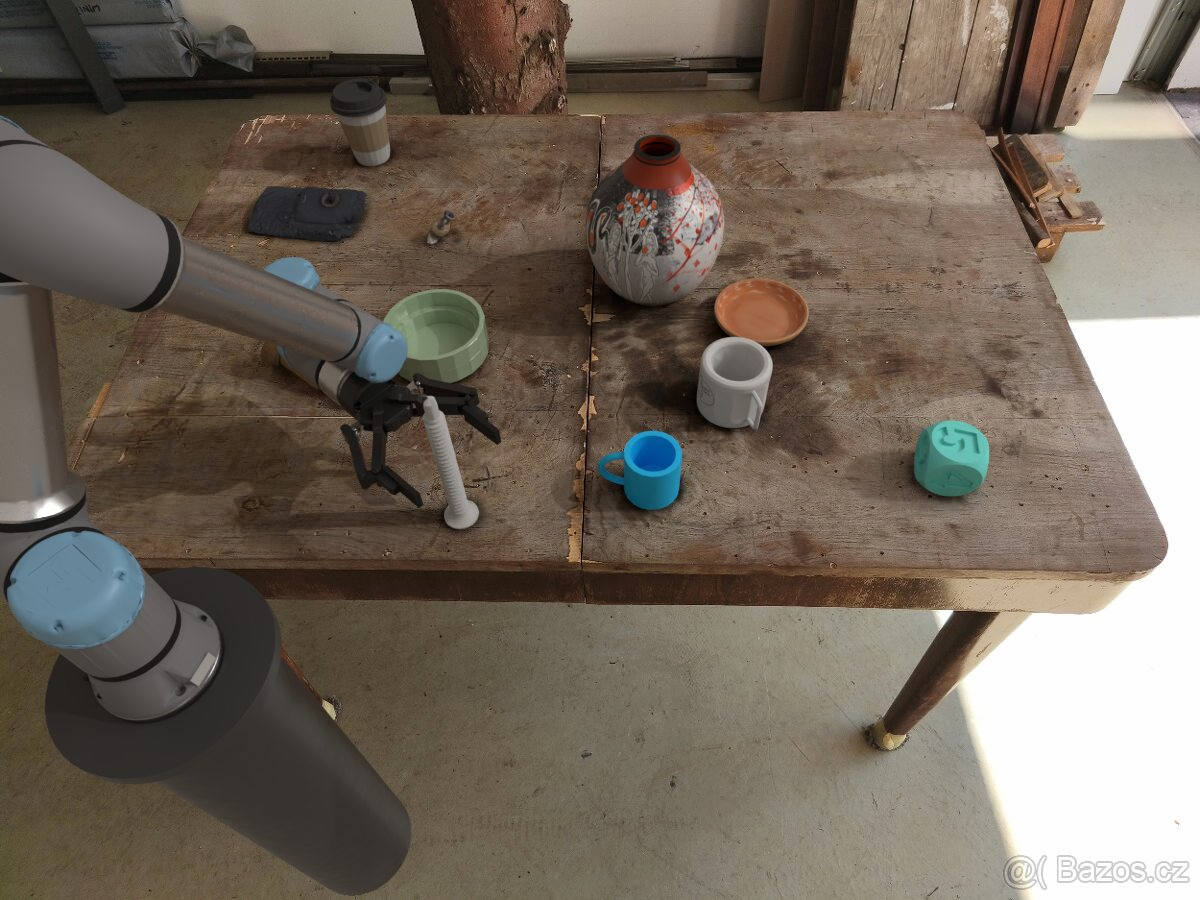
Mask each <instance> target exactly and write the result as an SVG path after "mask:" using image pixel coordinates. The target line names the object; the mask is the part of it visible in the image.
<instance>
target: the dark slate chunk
mask: <svg viewBox="0 0 1200 900" xmlns="http://www.w3.org/2000/svg"><path fill="white" fill-rule="evenodd" d="M367 196H368V194H367V193H366V192H365V191H364V190H358V189H351V188H328V187H326V186H324V187H317V186H305V187H298V186H296V187H295V186H294V187H287V186H280V185H269V186H267V187H265V189H263V191H262V192H261V193H260V195H259V197H258V198H257V200H256V202H255V203H254V206H253V208H252V210H251V214H250V217H249V218H248V221H247V232H249V233H254V234H258V235H263V236H268V237H279V238H283V239H285V238H286V239H292V240H293V239H296V240H309V241H319V242H337V241H340V240H341V239H342V238H346V237H348V238H350V237H352V236H353V234H354V233H355V232H356V231H357V228H356V227H357V225H358V224H359V222H360V221H361V220H362V218H363V216H364V212H365V208H366V207H365V206H366V203H365V202H366V198H367Z"/></svg>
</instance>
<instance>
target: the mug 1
mask: <svg viewBox="0 0 1200 900" xmlns="http://www.w3.org/2000/svg"><path fill="white" fill-rule="evenodd" d="M618 460H623V477H622V476H619V475H616V474H613V473H611V472H609V471H608V470H607V469H606V468H605V466H606V465H607V464H608V463H611V462H613V461H618ZM682 461H683V451H682V447H681V445H680V443H679V441H678V440H676V438H675V437H673V436H672V435H670V434H668V433H666V432H663V431H658V430H645V431H642V432H639V433H637V434H635V435H634V436H632V437H630V439H629V440H628V441H627V443H626V444H625V447H624V450H623V451H617V452H616V451H615V452H611V453H609V454H606V455H604V456H603V457H601V458H600V460H599V461H598V464H597V470H598V473H599V474H600V475H601V476H602V478H604V479H605V480H607V481H609V482H610V483H614V484H617V485H622V486H623V491H624V493H625V496H626V498H627V499H628V500H629V501H630V502H631V503H632V505H634V506H636V507H638V508H640V509H643V510H649V511H652V510H653V511H655V510H661V509H663V508H667V507H669V506H670V505H671V504H672V503H674V501H675V500H676V498H677V497H678V495H679V492H680V485H681V473H682Z"/></svg>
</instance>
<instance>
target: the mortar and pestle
mask: <svg viewBox="0 0 1200 900" xmlns="http://www.w3.org/2000/svg"><path fill="white" fill-rule="evenodd" d="M260 358H261V361H262V362H263V363H264V364H266V366H269V367H270V368H272V369H274V370H277V371H282V370H286V369H287V370H289V371H291V373H293V374H294V375H296V376H298V377H299V378H301V379H302V380H303V381H305V382H306V383H308V385H310V386H311V387H312V388H314V389H316V390H317V391H321V390H320V389H319V388H318V387H316V386H315V385H314V384H313V383H311V382H310V381H309V380H308V379H307V378H305V377H304V376H303V375H302V374H300V373H299V372H298V371H296V370H294V368H292V367H290V366H289V364H288V363H287V361H286V360H285V359H284V358H283V357H282V356H281V355H280V353H279V352H278V349H277V346H276V345H273V344H270V343H266V342H263V344H262V347H261V350H260Z"/></svg>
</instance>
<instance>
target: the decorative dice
mask: <svg viewBox="0 0 1200 900" xmlns="http://www.w3.org/2000/svg"><path fill="white" fill-rule="evenodd" d="M989 463H990V445H989V441H988V439H987V437H986V436H985V435H984V433H983V432H981V430H979V429H978V428H976V427H975V426H974V425H972V424H969V423H967V422H965V421H960V420H949V419H948V420H941V421H938V422H935V423H932V424H930V425H929V426H927V427H925V428H924V429H923V430H922V431H921V432H920V433H919V436H918V438H917V442H916V446H915V451H914V458H913V470H914V471H913V472H914V477H915V480H916V481H917V482H918V483H919V485H921V486H922V487H923V488H924V489H925V490H927V491H929V492H931V493H933V494H935V495H938V496H943V497H959V496H964V495H967V494H970V493H972V492H974V491H976V490H977V489H978V488H979V487H980V486H982V485H983V483H984V481H985V479H986V476H987V474H988V473H987V472H988V469H989Z"/></svg>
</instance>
